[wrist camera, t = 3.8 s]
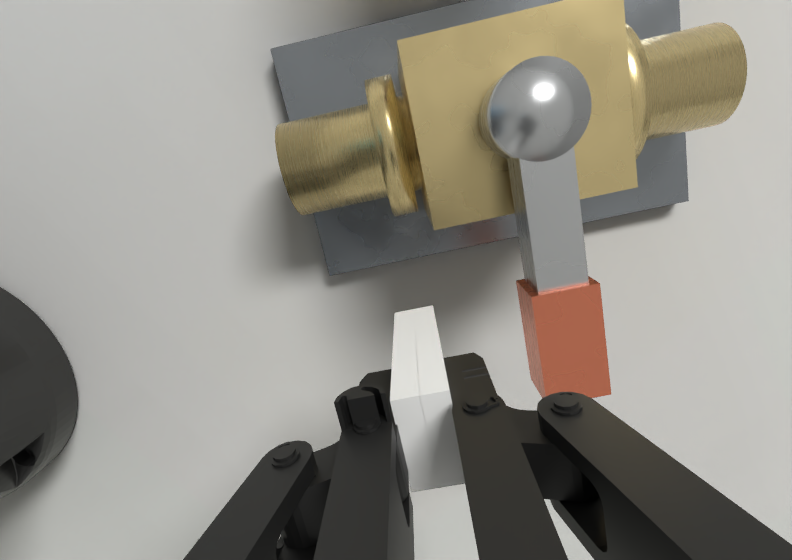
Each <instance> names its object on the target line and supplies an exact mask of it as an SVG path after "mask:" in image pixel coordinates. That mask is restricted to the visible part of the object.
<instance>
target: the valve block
mask: <svg viewBox="0 0 792 560" xmlns="http://www.w3.org/2000/svg"><path fill="white" fill-rule="evenodd" d="M270 50H271V53H272V57H273V61H274V65H275V69H276V72H277V76H278V80H279V84H280V88H281V91H282V95H283V99H284V103H285V107H286V110H287V114H288V118H289V122H286V123H282V124H278V125H277V127H276V131H275V143H276V151H277V157H278V162H279V166H280V170H281V174H282V177H283V180H284V183H285V186H286V189H287V192H288V194H289V197H290V199H291V201H292V203H293V205H294V207H295V208H296V210H297V211H298V212H299V213H300V214H301V215H307V214H311V213H314V217H315V221H316V225H317V229H318V232H319V236H320V240H321V244H322V248H323V251H324V255H325V259H326V263H327V267H328V270H329V274H330V275H335V274H340V273H345V272H350V271H354V270H359V269H364V268H369V267H374V266H378V265H383V264H388V263H393V262H398V261H402V260H407V259H412V258H417V257H422V256H426V255H431V254H436V253H441V252H446V251H450V250H455V249H460V248H465V247H470V246H474V245H479V244H484V243H489V242H494V241H498V240H503V239H508V238H513V237H518V230H517V224H516V217H515V210H514V203H513V196H512V190H511V183H510V176H509V169H508V162H507V159H505V158H503V157H501V156H499V155H497V154H496V153H495V152H493V151H492V150H491V149H490V148H489V147H488V145H487V144H486V143H485V141H484V139H483V137H482V134H481V131H480V127H479V111H480V106H481V103H482V100H483V98H484V96H485V94H486V92H487V91H488V89H489V88H490V87H491V86H492V85H493V84H494V83H495V82H496V81H497V80H498V79H499V78H501V77H502V76H503V75H504V74H506V73H507V72H508V71H510V70H511V69H512V68H513V67H515V66H516V65H518V64H519V63H521V62H523V61H525V60H527V59H530V58H533V57H538V56H554V57H558V58H561V59H564V60H566V61H568V62H569V63H571V64H572V65H574V66H575V67H576V68H577V69H578V70H579V71H580V72H581V73H582V75H583V76H584V78H585V80H586V82H587V84H588V86H589V90H590V94H591V103H592V107H591V115H590V120H589V123H588V126H587V128H586V130H585V132H584V134H583V135H582V137H581V138H580V140H579V141H578V142H577V143H576V145H574V151H575V160H576V170H577V179H578V188H579V197H580V206H581V215H582V223H585V222H589V221H594V220H599V219H604V218H609V217H613V216H618V215H623V214H628V213H633V212H637V211H642V210H647V209H652V208H657V207H661V206H666V205H671V204H676V203H681V202H685V201H689V200H688V179H687V158H686V137H685V132H687V131H692V130H696V129H701V128H706V127H710V126H715V125H718V124H721V123H723V122H724V121H726V120H727V119H728V118H729V117H730V116H731V115H732V114H733V113H734V111H735V110H736V108H737V106H738V105H739V103H740V100H741V98H742V95H743V92H744V88H745V84H746V76H747V60H746V54H745V50H744V46H743V43H742V41H741V39H740V37H739V35H738V34H737V33H736V31H735V30H734V29H733V28H732V27H730V26H729V25H727V24H724V23H712V24H708V25H703V26H699V27H695V28H691V29H686V30H682V31H681V30H680V9H679V0H469V1H465V2H461V3H457V4H453V5H448V6H444V7H440V8H436V9H432V10H428V11H424V12H420V13H416V14H412V15H407V16H403V17H399V18H395V19H391V20H387V21H383V22H379V23H375V24H371V25H366V26H362V27H358V28H354V29H350V30H346V31H342V32H338V33H334V34H330V35H325V36H321V37H317V38H313V39H309V40H305V41H301V42H297V43H293V44H289V45H284V46H280V47H276V48H272V49H270Z"/></svg>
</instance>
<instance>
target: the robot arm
mask: <svg viewBox="0 0 792 560" xmlns="http://www.w3.org/2000/svg"><path fill="white" fill-rule="evenodd" d="M334 404H335V408H336V412H337V415H338V419H339V422H340V426H341V430H342V432H341V436H340V441H338V442H336V443H335V444H333V445H331V446H329V447H326V448H324V449H321V450H318V451H316V452H313V450H312V447H311V445H310V444H309V443H307V442H305V441H292V442H286V443H284V444H281V445H278V446H277V447H276V448H274V449H272V450H271V451H269V452H268V453H267V454H266V455H265V456H264V457H263V458H262V459H261V460H260V462H259V463H258V464H257V466H256V467H255V468H254V469H253V471H252V472H251V473H250V475H249V476H248V477H247V478H246V480H245V481H244V482H243V484H242V485H241V486H240V487H239V489H238V490H237V491H236V493H235V494H234V495H233V496H232V498H231V499H230V500H229V502H228V503H227V504H226V505H225V507H224V508H223V509H222V511H221V512H220V513H219V514H218V516H217V517H216V518H215V520H214V521H213V522H212V523H211V525H210V526H209V527H208V529H207V530H206V531H205V532H204V534H203V535H202V536H201V537H200V539H199V540H198V541H197V543H196V544H195V545H194V546H193V548H192V549H191V550H190V552H189V553H188V554H187V555H186V557H185V558H184V559H183V560H414V533H413V506H412V502H411V498H410V493H409V483H410V487H411V492H416V491H422V490H428V489H434V488H440V487H446V486H452V485H458V484H464V483H465V485H466V490H467V495H468V501H469V506H470V512H471V517H472V522H473V528H474V533H475V539H476V544H477V549H478V555H479V560H568V558H567V556H566V553H565V551H564V548H563V546H562V543H561V541H560V538H559V536H558V534H557V531H556V529H555V526H554V524H553V521H552V519H551V516H550V514H549V511H548V509H547V506H546V504H545V501H544V499H550V500H551V503H552V505H553V507H554V509H555V510H556V512H557V513H558V514H559V515H560V517H561V518H562V519H563V521H564V522H565V523H566V524H567V526H568V527H569V528H570V529H571V531H572V532H573V533H574V534H575V536H576V537H577V538H578V539H579V541H580V542H581V543H582V544H583V546H584V547H585V548H586V550H587V551H588V552H589V553H590V555H591V556H592V557H593V558H594V560H792V545H791V544H790V543H789V542H787V541H786V540H784V539H783V538H782V537H780V536H779V535H778V534H776V533H775V532H774V531H772V530H771V529H769V528H768V527H767V526H765V525H764V524H763V523H761V522H760V521H758V520H757V519H756V518H754V517H753V516H752V515H750V514H749V513H748V512H746V511H745V510H743V509H742V508H741V507H739V506H738V505H737V504H735V503H734V502H733V501H731V500H730V499H728V498H727V497H726V496H724V495H723V494H722V493H720V492H719V491H717V490H716V489H715V488H713V487H712V486H711V485H709V484H708V483H707V482H705V481H704V480H702V479H701V478H700V477H698V476H697V475H696V474H694V473H693V472H691V471H690V470H689V469H687V468H686V467H685V466H683V465H682V464H681V463H679V462H678V461H676V460H675V459H674V458H672V457H671V456H670V455H668V454H667V453H666V452H664V451H663V450H661V449H660V448H659V447H657V446H656V445H655V444H653V443H652V442H650V441H649V440H648V439H646V438H645V437H644V436H642V435H641V434H640V433H638V432H637V431H635V430H634V429H633V428H631V427H630V426H629V425H627V424H626V423H625V422H623V421H622V420H620V419H619V418H618V417H616V416H615V415H614V414H612V413H611V412H609V411H608V410H607V409H605V408H604V407H603V406H601V405H600V404H599V403H597V402H596V401H594V400H593V399H592V398H590V397H588V396H586V395H584V394H580V393H575V392H558V393H554V394H550V395H548V396H546V397H544V398H542V399H541V401H540V402H539V403H538V407H537V411H530V410H518V409H514V408H511V407H508V406H506V405H505V403H504V401H503V400H502V398H501V397H500V396H498V395H497V393H496V391H495V388H494V386H493V383H492V380H491V378H490V375H489V373H488V370H487V368H486V365H485V363H484V360H483V358H482V357H480V356H478V355H477V354H475V353H469V354H463V355H458V356H453V357H447V358H443V354H442V349H441V344H440V339H439V334H438V329H437V324H436V319H435V314H434V309H433V305H432V306H427V307H421V308H416V309H411V310H406V311H401V312H396V313H395V315H394V334H393V352H392V369H389V370H384V371H379V372H373V373H368V374H367V375H366V376H365V377H364V378H363V379H362V380H361V382H360V384H359V386H356V387H353V388H350V389H348V390H346V391H344V392H343V393H342V394H340V395H339V396H338V397H337V398H336V400H335V402H334ZM76 415H77V390H76V383H75V379H74V375H73V372H72V369H71V366H70V364H69V361H68V359H67V357H66V355H65V353H64V351H63V349H62V347H61V345H60V344H59V342H58V341H57V339H56V337H55V336H54V335H53V333H52V332H51V331H50V329H49V328H48V327H47V326H46V324H45V323H44V322H43V321H42V320H41V319H40V318H39V317H38V316H37V315H36V314H35V313H34V312H33V311H32V310H31V309H30V308H29V307H28V306H26V305H25V304H24V303H23V302H21V301H20V300H19V299H17V298H16V297H15V296H13V295H12V294H10V293H9V292H7V291H6V290H4V289H2V288H1V287H0V498H2V497H4V496H6V495H8V494H10V493H11V492H13V491H15V490H16V489H18V488H20V487H21V486H22V485H24V484H25V483H27V482H28V481H29V480H30V479H31V478H33V477H34V476H35V475H36V474H37V473H38V472H39V471H41V470H42V469H43V468H44V467H45V466H46V465H47V464H49V463H50V462H51V461H52V460H53V459H54V458H55V457H56V456H57V455H58V454H59V453H60V452H61V450H62V449H63V448H64V446H65V445H66V443H67V441H68V439H69V437H70V435H71V433H72V430H73V427H74V424H75V420H76ZM280 534H281V537H280ZM279 537H280V539H279ZM278 539H279V540H278Z"/></svg>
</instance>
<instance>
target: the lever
mask: <svg viewBox="0 0 792 560" xmlns="http://www.w3.org/2000/svg"><path fill="white" fill-rule="evenodd" d="M591 107H592V103H591V94H590V90H589V86H588V84H587V82H586V80H585V78H584V76H583V75H582V73H581V72H580V71H579V70H578V69H577V68H576V67H575V66H574V65H572V64H571V63H569V62H568V61H566V60H564V59H561V58H558V57H554V56H538V57H533V58H530V59H527V60H525V61H523V62H521V63H519V64H518V65H516V66H515V67H513V68H512V69H511V70H510V71H508V72H507V73H506V74H504V75H503V76H502V77H501V78H499V79H498V80H497V81H496V82H495V83H494V84H493V85H492V86H491V87H490V88H489V89H488V91H487V92H486V94H485V96H484V98H483V100H482V103H481V106H480V111H479V127H480V131H481V134H482V137H483V139H484V141H485V143H486V144H487V145H488V147H489V148H490V149H491V150H492V151H493V152H495V153H496V154H497V155H499V156H501V157H503V158H505V159H507V162H508V169H509V176H510V183H511V190H512V196H513V203H514V210H515V217H516V224H517V230H518V237H519V244H520V251H521V258H522V264H523V271H524V278H525V279H522V280H517V281H516V284H517V290H518V297H519V303H520V310H521V316H522V323H523V329H524V336H525V343H526V349H527V356H528V362H529V369H530V375H531V379H532V381H533V383H534V385H535V386H536V388H537V390H538V391H539V393H540V395H541V397H542V398H544V397H546V396H548V395H550V394H554V393H558V392H575V393H580V394H584V395H586V396H588V397H590V398H594V397H599V396H605V395H610V394H611V387H610V378H609V368H608V358H607V348H606V339H605V329H604V319H603V309H602V299H601V290H600V283H598V282H597V281H595V280H594V279H592V278H590V277H589V276H588V270H587V261H586V252H585V243H584V234H583V225H582V215H581V206H580V197H579V188H578V179H577V170H576V160H575V151H574V145H576V143H577V142H578V141H579V140H580V138H581V137H582V135H583V134H584V132H585V130H586V128H587V126H588V123H589V120H590V115H591Z"/></svg>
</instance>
